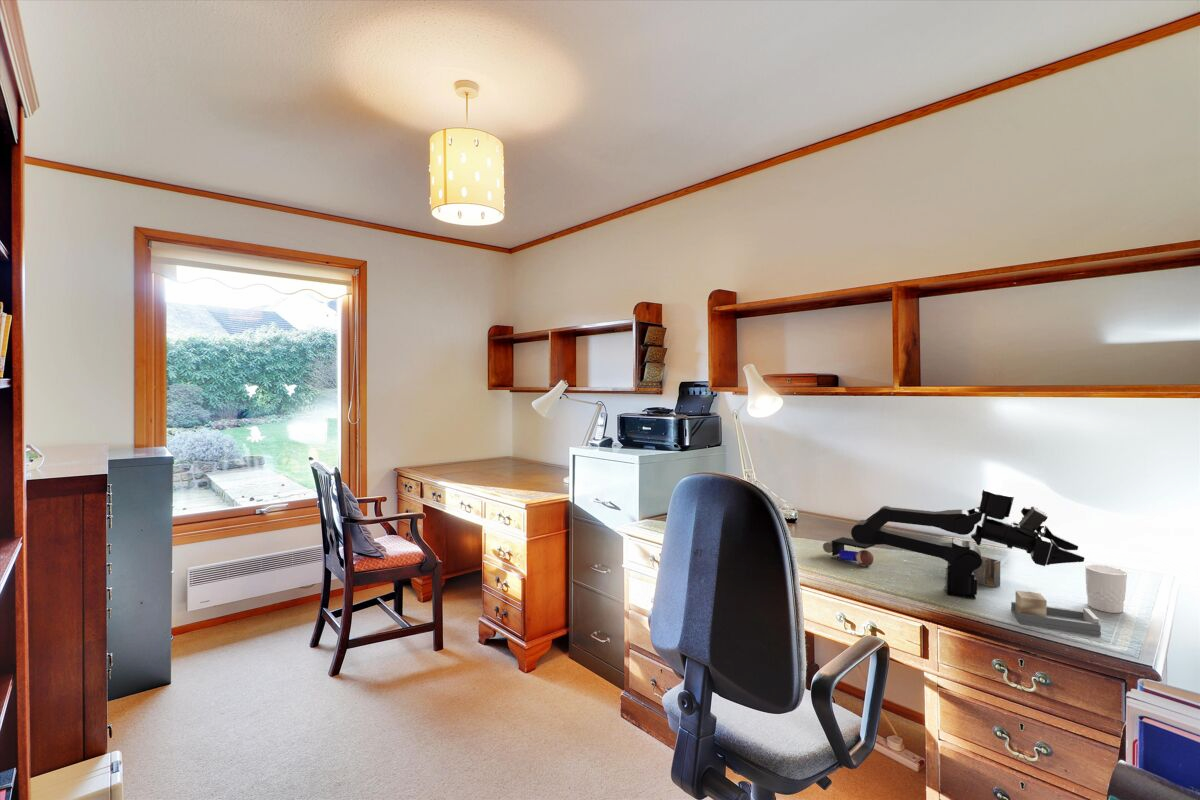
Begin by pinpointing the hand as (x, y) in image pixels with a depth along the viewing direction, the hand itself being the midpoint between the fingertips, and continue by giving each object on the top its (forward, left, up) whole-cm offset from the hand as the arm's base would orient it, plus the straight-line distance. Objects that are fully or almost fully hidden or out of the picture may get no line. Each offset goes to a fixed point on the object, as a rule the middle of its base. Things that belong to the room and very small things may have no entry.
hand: (1080, 553), depth 138 cm
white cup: (+7, +7, -15) cm, 18 cm away
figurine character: (-53, +21, -15) cm, 59 cm away
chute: (-7, -9, -15) cm, 19 cm away
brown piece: (-19, +17, -16) cm, 30 cm away
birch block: (-12, -9, -14) cm, 21 cm away
